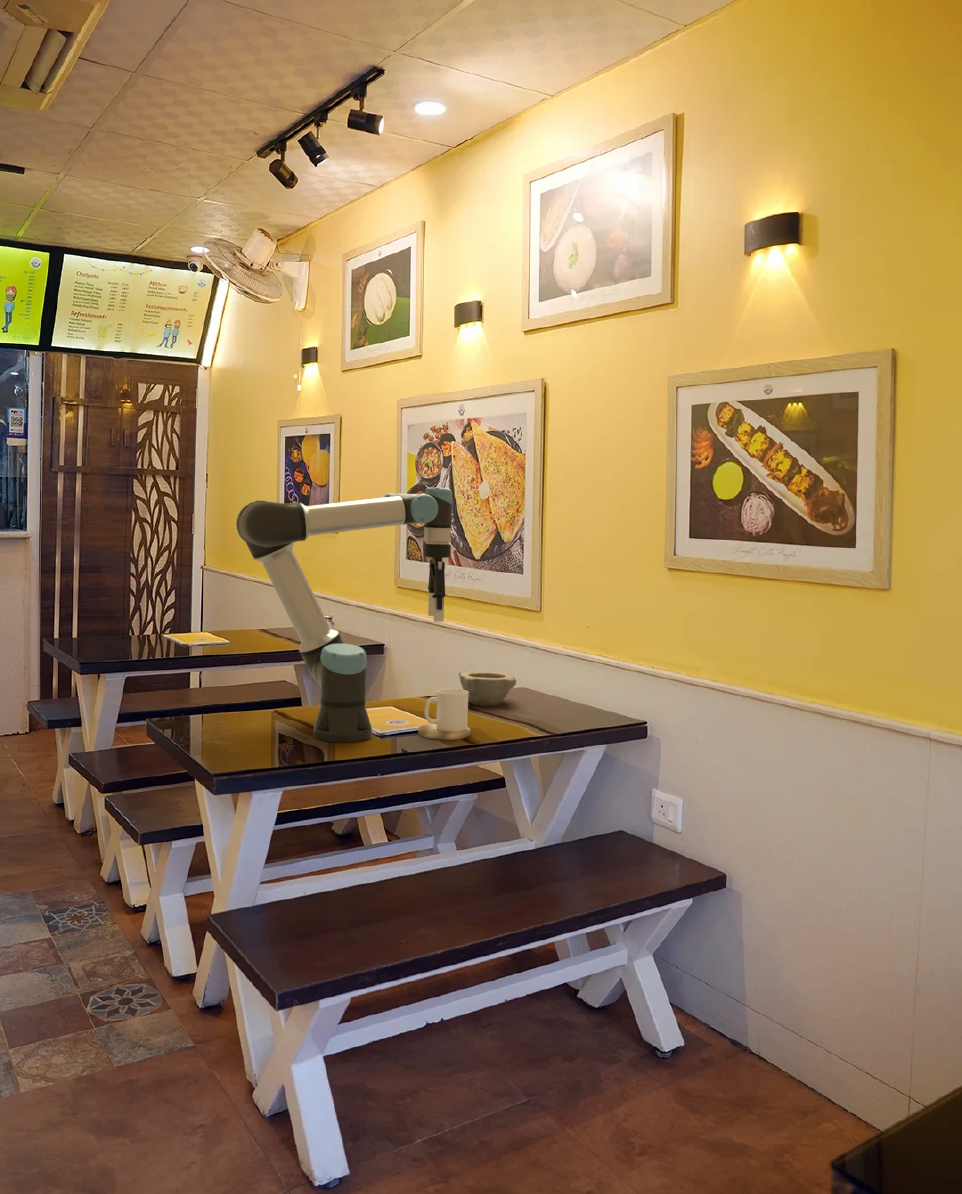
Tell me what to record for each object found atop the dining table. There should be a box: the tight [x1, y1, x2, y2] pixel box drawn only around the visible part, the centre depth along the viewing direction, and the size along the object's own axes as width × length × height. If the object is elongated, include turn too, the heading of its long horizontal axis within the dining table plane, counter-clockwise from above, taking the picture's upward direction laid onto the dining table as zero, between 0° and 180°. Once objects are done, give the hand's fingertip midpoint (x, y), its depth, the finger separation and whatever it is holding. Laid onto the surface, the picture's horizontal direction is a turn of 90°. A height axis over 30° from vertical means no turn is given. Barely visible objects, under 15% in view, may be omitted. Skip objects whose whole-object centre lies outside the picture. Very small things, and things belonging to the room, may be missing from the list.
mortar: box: [458, 670, 517, 707], centre depth 309 cm, size 17×17×9 cm
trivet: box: [417, 723, 472, 741], centre depth 267 cm, size 14×14×1 cm
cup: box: [423, 688, 469, 732], centre depth 266 cm, size 8×12×10 cm
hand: (435, 618), depth 282 cm, fingers open, 13 cm apart
